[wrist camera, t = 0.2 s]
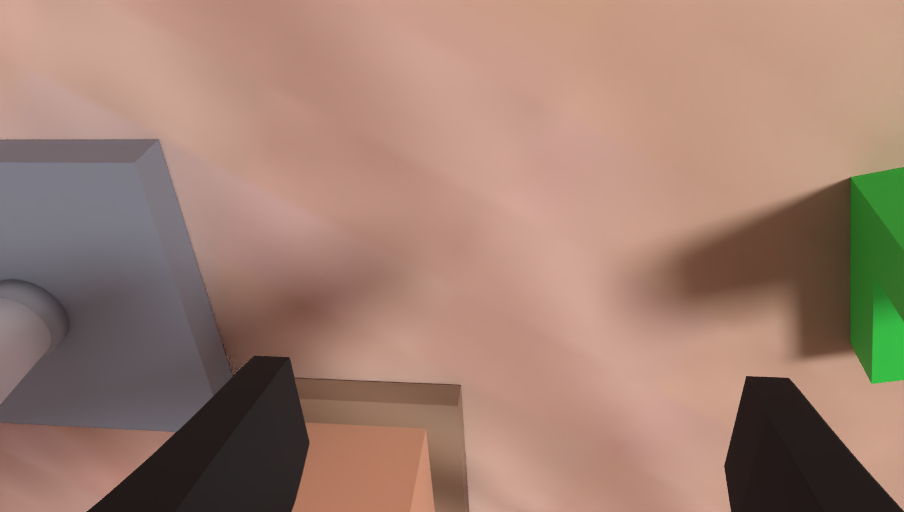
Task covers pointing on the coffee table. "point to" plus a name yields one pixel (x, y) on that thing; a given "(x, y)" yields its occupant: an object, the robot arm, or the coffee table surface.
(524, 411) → the coffee table surface
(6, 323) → the square peg base
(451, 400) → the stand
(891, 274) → the mechanical part
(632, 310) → the coffee table surface
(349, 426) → the collar
